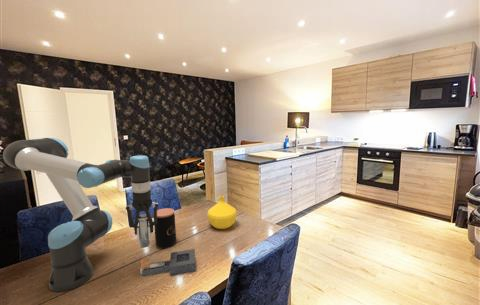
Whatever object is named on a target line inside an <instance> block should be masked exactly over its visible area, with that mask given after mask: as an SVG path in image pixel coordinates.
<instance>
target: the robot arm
mask: <svg viewBox="0 0 480 305" xmlns="http://www.w3.org/2000/svg"><path fill="white" fill-rule="evenodd" d="M68 151H69V148H68V146H67V144H66V143H65V142H64V141H62V140H61V139H60V138H55V137H42V138H34V139H21V140H16V141H14V142H13V141H12V142H11V143H9V144H8V145H7V146H6V147H5V149H4V150H3V153H2V157H3V160H4V162H5V163H6V165H8V166H10V167H11V168H14V169H17V170H21V171H35V172H40V173H44V174H45V175H46V176H47V178H48V179H49V181H50V182H51V184H52V185H53V187H54V189H55V190H56V192H57V194H58V195H59V196H60V198H61V200H62V201H63V203H64V204H65V206H66V207H67V208H68V210H69V212H70V214H71V215H72V219H71V221H67V222H64V223H62V224H59V225H57V226H56V227H54V228H53V229H52V230H51V231H50V232H49V233H48V235H47V245H48V250H49V255H50V261H51V267H52V269H51V270H50V275H49V280H48V286H49V290H50V291H52V292H56V293H58V292H65V291H70V290H73V289H75V288H77V287H79V286H82V285H83V284H85V283H86V282H87V281H89V280H90V279H91V277H92V276H93V274H94V266H93V265H92V262H91V261H90V260H89V258H88V256H87V248H88V247H89V246H90V245H91V244H94V243H95V242H96V241H98V240H100V239H101V238H103V237H104V236H105V235H106V234H108V233H109V232H110V231H111V229H112V227H113V217H112V215H111V213H109V212H108V211H106V210H102V209H100V207H99V206H96V205H93V203H92V202H91V201H90V199H89V197H88V196H87V194H86V192H85V191H84V190H83V188H85V189H91V188H97V187H98V186H101V185H103V184H106V183H108V182H111V181H114V180H116V179H119V178H130V180H131V182H130V183H131V191H132V194H131V196H132V203H131V204H127V205H126V207H125V210H126V211H127V217H128V225H129V228H130V229H131V228H133V230H134V235H135V236H137V243H140V234H139V221H138V219H137V218H139V215H141V214H140V213H141V212H144V214H146V215H147V217H148V224H149V226H148V235H149V241H150V242H151V241H152V234H153V233H154V225H156V224H157V210H158V206H159V202H157V201H156V202H154V201H153V200H152V193H151V192H152V191H151V177H150V176H151V175H150V160H149V157H148V156H147V155H134V156H130V157H129V160H127V159H108V160H106V161H105V162H104V163H101V164H92V163H88V162H83V161H80V160H76V159H71V158H68V157H69V152H68ZM151 206H152V208H153V214H154V215H153V217H152V215H151V211H150V210H151V209H150V208H151ZM133 208H134V209H135V210H136V211H135V218H134V217H133ZM152 218H153V219H152Z"/></svg>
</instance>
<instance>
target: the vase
mask: <svg viewBox="0 0 480 305" xmlns="http://www.w3.org/2000/svg"><path fill="white" fill-rule="evenodd" d="M218 200H219V201H218V202H217V203H216V204H215V205H213V206H212V207H210V208H209V209H208V211H207V219H208V221H209V223H210V225H211V226H213V227H214V228H216V229H219V230H226V229H229V228H230V227H232V226H233V225H234V224H235V221H236V219H237V217H238V212H237V209H236V208H235V207H234V206H232V205H230V204H229V203H228V202H226V201H225V196H224V195H219V199H218Z"/></svg>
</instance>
